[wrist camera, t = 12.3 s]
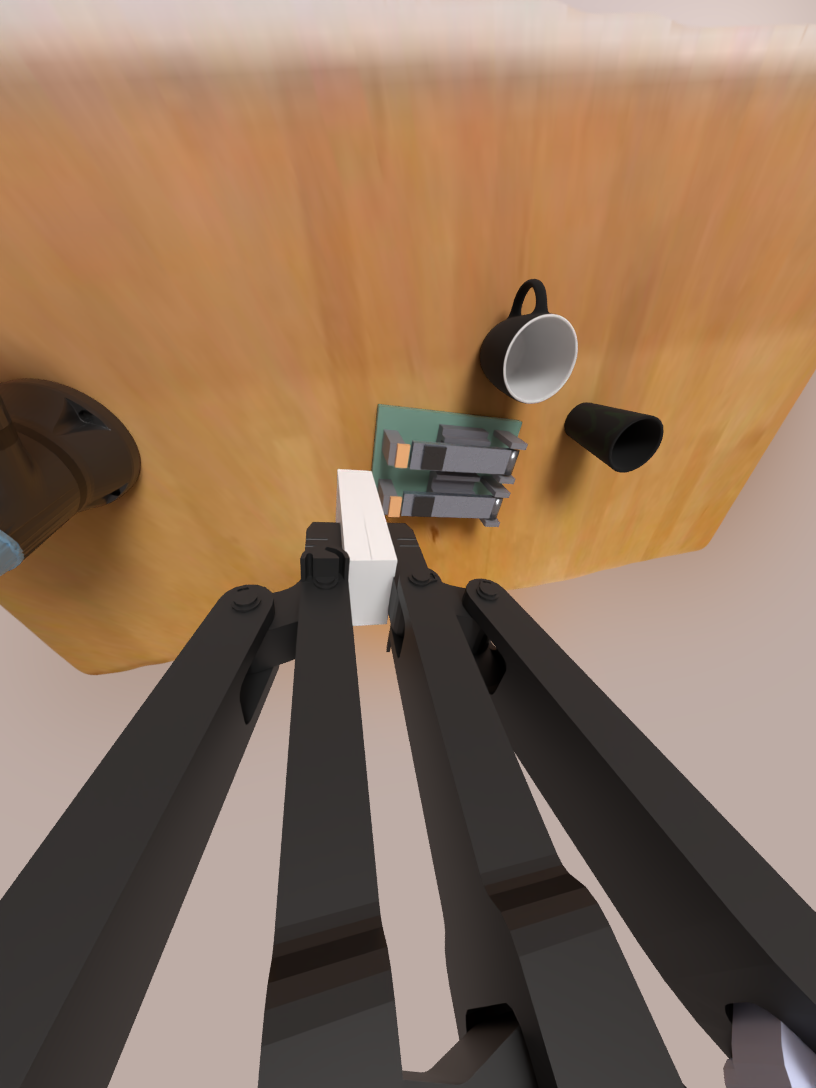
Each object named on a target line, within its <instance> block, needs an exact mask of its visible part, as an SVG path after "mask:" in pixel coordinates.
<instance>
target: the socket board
mask: <svg viewBox="0 0 816 1088" xmlns="http://www.w3.org/2000/svg"><path fill="white" fill-rule="evenodd" d="M521 425H522V422H521V421H519V420H513V419H504V418H496V417H487V416H478V415H469V414H461V413H452V412H443V411H435V410H426V409H417V408H409V407H400V406H391V405H382V404H378V408H377V418H376V429H375V439H374V450H373V460H372V474H373V478H374V481H375V485H376V488H377V492H378V495H379V499H380V502H381V505H382V509H383V512H384V515H388V517H399V516H400V509H401V503H402V496H403V491H419V492H439V493H459V494H478V495H493V496H494V497H500V498H509V496H510V492H509V491H508V490H507V489H506V488H505V487H504V486H503V485H502V483H505V484H514V482H515V478H514V477H513V476H512V475H504V474H487V473H469V472H451V471H433V470H415V469H409V467H408V463H409V457H410V450H411V444H412V440H415V441H428V442H440V443H452V444H465V445H477V446H490V447H502V448H511V449H521V450H526V448H527V445H528V444H527V443H525V442H524V441H522V440H521V439H519V438H518V434H519V431H520V428H521ZM479 519H480V520H481V522H482V523H483V525H484V526H485V527H499V524H500V522H499V521H498V519H497V518H496V519H495V520H493V519H489V518H479Z"/></svg>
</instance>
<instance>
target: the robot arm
mask: <svg viewBox="0 0 816 1088" xmlns="http://www.w3.org/2000/svg"><path fill="white" fill-rule="evenodd" d="M139 472H140V456H139V452H138V449H137V446H136V444H135V442H134V440H133V438H132V436H131V434H130V433H129V431H128V430H127V429H126V427H125V426H124V425H123V424H122V423H121V421H120V420H119V419H118V418H117V417H116V416H115V415H114V414H113V413H111V412H110V411H109V410H108V409H107V408H106V407H104V406H103V405H102V404H100V403H99V402H97V401H96V400H94V399H93V398H91V397H89V396H87V395H86V394H84V393H82V392H80V391H78V390H75V389H73V388H71V387H68V386H65V385H62V384H59V383H56V382H52V381H47V380H40V379H17V380H12V381H7V382H3V383H0V576H2V575H3V574H4V573H6V572H7V571H10V570H12V569H14V568H16V567H17V566H18V565H20V563H21V562H22V561H23V560H24V559H25V558H26V557H27V556H29V555H30V554H31V553H32V552H33V551H34V550H35V549H36V548H38V547H39V546H40V545H41V544H42V543H43V542H44V541H45V540H46V539H48V538H49V537H50V536H51V535H52V534H53V533H54V532H55V531H57V530H58V529H59V528H60V527H61V526H62V525H63V524H64V523H65V522H67V521H68V520H69V519H70V518H71V517H72V516H73V515H75V514H76V513H77V512H81V511H84V510H88V509H92V508H95V507H99V506H102V505H106V504H108V503H111V502H113V501H115V500H117V499H118V498H120V497H121V496H122V495H123V494H125V493H126V492H127V491H128V490H129V489H130V488H131V487H132V486H133V485H134V483H135V482H136V480H137V478H138V475H139ZM300 565H301V580H300V581H299V582H298V583H297V584H296V585H294V586H292V587H291V588H289V589H286V590H283V591H279V592H275V593H272V592H271V591H269V590H268V589H267V588H266V587H262V586H259V585H243V586H239V587H235V588H233V589H231V590H229V591H227V592H226V593H225V594H224V595H223V596H222V597H221V598H220V599H219V600H218V601H217V603H216V604H215V606H214V607H213V608H212V610H211V611H210V612H209V614H208V615H207V617H206V618H205V619H204V621H203V622H202V623H201V625H200V626H199V628H198V629H197V630H196V632H195V633H194V634H193V636H192V637H191V639H190V640H189V641H188V643H187V644H186V645H185V647H184V648H183V650H182V651H181V652H180V654H179V655H178V656H177V658H176V659H175V661H174V662H173V663H172V665H171V666H170V668H169V669H168V670H167V672H166V673H165V674H164V676H163V677H162V679H161V680H160V681H159V683H158V684H157V685H156V687H155V688H154V690H153V691H152V693H151V694H150V695H149V696H148V698H147V699H146V701H145V702H144V703H143V705H142V706H141V707H140V709H139V710H138V712H137V713H136V714H135V716H134V717H133V719H132V720H131V721H130V723H129V724H128V725H127V727H126V728H125V729H124V731H123V732H122V734H121V735H120V736H119V738H118V739H117V741H116V742H115V743H114V745H113V746H112V747H111V749H110V750H109V752H108V753H107V754H106V756H105V757H104V758H103V760H102V761H101V763H100V764H99V765H98V767H97V768H96V769H95V771H94V772H93V774H92V775H91V776H90V778H89V779H88V781H87V782H86V783H85V785H84V786H83V787H82V789H81V790H80V792H79V793H78V794H77V796H76V797H75V798H74V800H73V801H72V803H71V804H70V805H69V807H68V808H67V809H66V811H65V812H64V814H63V815H62V816H61V818H60V819H59V820H58V822H57V823H56V825H55V826H54V827H53V829H52V830H51V831H50V833H49V834H48V836H47V837H46V838H45V840H44V841H43V842H42V844H41V845H40V847H39V848H38V849H37V851H36V852H35V853H34V855H33V856H32V858H31V859H30V860H29V862H28V863H27V864H26V866H25V867H24V869H23V870H22V871H21V873H20V874H19V875H18V877H17V878H16V880H15V881H14V882H13V884H12V885H11V886H10V888H9V889H8V891H7V892H6V893H5V895H4V896H3V898H2V899H1V900H0V1088H107V1087H108V1085H109V1082H110V1080H111V1077H112V1075H113V1072H114V1070H115V1067H116V1065H117V1062H118V1060H119V1058H120V1055H121V1053H122V1050H123V1048H124V1045H125V1043H126V1040H127V1038H128V1036H129V1033H130V1031H131V1028H132V1026H133V1023H134V1021H135V1019H136V1016H137V1014H138V1011H139V1009H140V1006H141V1004H142V1001H143V999H144V997H145V994H146V991H147V989H148V987H149V984H150V982H151V979H152V976H153V974H154V972H155V970H156V967H157V965H158V962H159V960H160V957H161V955H162V952H163V950H164V948H165V945H166V943H167V940H168V938H169V935H170V933H171V930H172V928H173V926H174V923H175V921H176V918H177V916H178V913H179V911H180V908H181V906H182V903H183V901H184V899H185V896H186V894H187V891H188V889H189V886H190V884H191V882H192V879H193V877H194V874H195V872H196V869H197V867H198V864H199V862H200V859H201V857H202V855H203V852H204V850H205V847H206V845H207V842H208V840H209V838H210V835H211V833H212V830H213V827H214V825H215V823H216V820H217V818H218V815H219V813H220V811H221V808H222V806H223V803H224V801H225V798H226V796H227V793H228V791H229V788H230V786H231V784H232V781H233V779H234V776H235V773H236V771H237V769H238V767H239V764H240V762H241V759H242V757H243V754H244V752H245V749H246V747H247V744H248V742H249V740H250V737H251V735H252V732H253V730H254V727H255V725H256V723H257V720H258V717H259V715H260V713H261V710H262V708H263V705H264V703H265V701H266V698H267V695H268V693H269V691H270V688H271V686H272V683H273V681H274V679H275V676H276V673H277V671H278V669H279V665H280V664H283V663H286V662H288V661H291V660H293V659H295V669H294V683H293V696H292V709H291V722H290V736H289V749H288V763H287V775H286V790H285V802H284V816H283V828H282V842H281V856H280V868H279V882H278V895H277V908H276V921H275V934H274V945H273V954H272V961H271V967H270V973H269V979H268V985H267V994H266V1003H265V1011H264V1023H263V1034H262V1043H261V1056H260V1068H259V1080H258V1088H686V1086H685V1085H684V1084H683V1083H682V1081H681V1079H680V1077H679V1074H678V1072H677V1070H676V1068H675V1066H674V1064H673V1061H672V1059H671V1057H670V1055H669V1053H668V1050H667V1048H666V1046H665V1044H664V1042H663V1040H662V1037H661V1035H660V1033H659V1031H658V1029H657V1027H656V1024H655V1022H654V1020H653V1018H652V1016H651V1013H650V1012H649V1009H648V1007H647V1005H646V1003H645V1001H644V998H643V996H642V994H641V992H640V990H639V988H638V986H637V983H636V981H635V979H634V977H633V974H632V972H631V970H630V968H629V966H628V963H627V961H626V959H625V957H624V955H623V953H622V950H621V948H620V946H619V944H618V942H617V940H616V937H615V935H614V933H613V931H612V929H611V927H610V925H609V923H608V921H607V919H606V917H605V915H604V913H603V912H602V910H601V908H600V906H599V904H598V903H597V901H596V900H595V899H594V897H593V896H592V895H591V893H590V892H589V891H588V889H587V888H586V887H585V886H584V885H583V884H582V883H580V882H579V881H578V880H577V879H575V878H574V877H573V876H572V875H570V874H569V873H568V871H567V870H566V869H565V867H564V866H563V865H562V863H561V861H560V859H559V857H558V855H557V853H556V850H555V848H554V846H553V843H552V841H551V838H550V836H549V834H548V831H547V829H546V827H545V824H544V822H543V820H542V817H541V815H540V813H539V810H538V808H537V806H536V803H535V801H534V798H533V796H532V794H531V791H530V789H529V787H528V784H527V782H526V779H525V777H524V775H523V772H522V770H521V768H520V765H519V763H518V761H517V758H516V756H515V754H516V755H517V756H518V758H519V760H520V761H521V763H522V764H523V766H524V768H525V769H526V771H527V772H528V774H529V775H530V777H531V778H532V780H533V781H534V783H535V785H536V786H537V788H538V789H539V791H540V792H541V794H542V795H543V797H544V798H545V800H546V801H547V803H548V804H549V806H550V807H551V809H552V811H553V812H554V814H555V815H556V817H557V818H558V820H559V821H560V823H561V825H562V826H563V827H564V829H565V831H566V832H567V834H568V835H569V837H570V838H571V840H572V841H573V843H574V845H575V846H576V847H577V849H578V851H579V852H580V854H581V855H582V857H583V858H584V860H585V861H586V863H587V865H588V866H589V867H590V869H591V871H592V872H593V873H594V875H595V877H596V878H597V880H598V881H599V883H600V885H601V886H602V888H603V889H604V891H605V892H606V894H607V895H608V897H609V898H610V900H611V902H612V903H613V905H614V906H615V907H616V909H617V911H618V912H619V914H620V915H621V917H622V918H623V920H624V922H625V923H626V925H627V926H628V928H629V929H630V931H631V932H632V934H633V935H634V937H635V938H636V940H637V942H638V943H639V944H640V946H641V947H642V949H643V950H644V952H645V953H646V955H647V956H648V957H649V959H650V960H651V962H652V963H653V965H654V966H655V968H656V969H657V970H658V972H659V973H660V975H661V976H662V978H663V979H664V981H665V982H666V983H667V984H668V986H669V987H670V988H671V990H672V991H673V992H674V993H675V995H676V996H677V997H678V999H679V1000H680V1001H681V1002H682V1003H683V1005H684V1006H685V1008H686V1009H687V1010H688V1011H689V1013H690V1014H691V1015H692V1016H693V1018H694V1019H695V1020H696V1022H697V1023H698V1024H699V1025H700V1026H701V1027H702V1028H703V1029H704V1031H705V1032H706V1033H707V1034H708V1035H709V1036H710V1037H711V1039H712V1040H713V1041H714V1042H715V1043H716V1044H717V1045H718V1046H719V1047H720V1049H721V1050H722V1051H723V1052H724V1053H725V1054H726V1055H727V1057H728V1058H729V1059H727V1061H726V1063H725V1066H724V1068H723V1069H724V1079H725V1085H726V1088H816V912H815V911H814V910H813V909H812V908H811V907H810V906H809V905H808V904H807V903H806V902H805V901H804V900H803V899H802V898H801V897H800V896H799V895H798V894H797V893H796V892H795V891H794V890H793V889H792V887H791V886H789V884H788V883H787V882H786V881H785V880H784V879H783V878H782V877H781V876H780V875H779V874H778V873H777V872H776V871H775V870H774V869H773V868H772V867H771V866H770V865H769V864H768V863H767V862H766V861H765V859H764V858H763V857H762V856H761V855H760V854H759V853H758V852H757V851H756V850H755V849H754V848H753V847H752V846H751V845H750V844H749V843H748V842H747V841H746V840H745V839H744V838H743V837H742V836H741V834H740V833H739V832H738V831H737V830H736V829H735V828H734V827H733V826H732V825H731V824H730V823H729V822H728V821H727V820H726V819H725V818H724V817H723V816H722V815H721V814H720V813H719V812H718V811H717V810H716V809H715V808H714V806H713V805H712V804H711V803H710V802H709V801H708V800H706V798H705V797H704V796H703V795H702V794H701V793H700V792H699V791H698V790H697V789H696V788H695V787H694V786H693V785H692V784H691V783H690V782H689V781H688V779H687V778H686V777H685V776H684V775H683V774H682V773H681V772H680V771H679V770H678V769H677V768H676V767H675V766H674V765H673V764H672V763H671V762H670V761H669V760H668V759H667V758H666V757H665V756H664V755H663V754H662V753H661V751H660V750H659V749H658V748H657V747H656V746H655V745H654V744H653V743H652V742H651V741H650V740H649V739H648V738H647V737H646V736H645V735H644V734H643V733H642V732H641V731H640V730H639V729H638V728H637V727H636V726H635V724H634V723H633V722H632V721H631V720H630V719H629V718H628V717H627V716H626V715H625V714H624V713H623V712H622V711H621V710H620V709H619V708H618V707H617V706H616V705H615V704H614V703H613V702H612V701H611V699H609V697H607V695H606V694H605V693H604V692H603V691H602V690H601V689H600V688H599V687H598V686H597V685H596V684H595V683H594V682H593V681H592V680H591V679H590V678H589V677H588V676H587V675H586V674H585V673H584V671H583V670H582V669H581V668H580V667H579V666H578V665H577V664H576V663H575V662H574V661H573V660H572V659H571V658H570V657H569V656H568V655H567V654H566V653H565V652H564V651H563V650H562V649H561V648H560V646H559V645H558V644H556V643H555V641H554V640H553V639H552V638H551V637H550V636H549V635H548V634H547V633H546V632H545V631H544V630H543V629H542V628H541V627H540V626H539V625H538V624H537V623H536V622H535V621H534V620H533V618H532V617H530V615H529V614H528V613H527V612H526V611H525V610H524V609H523V608H522V607H521V606H520V605H519V604H518V603H517V602H516V601H515V600H514V599H513V598H512V597H511V596H510V595H509V594H508V593H507V591H506V590H505V589H504V588H502V587H501V586H500V585H499V584H497V583H495V582H493V581H491V580H486V579H474V580H472V581H469V583H468V584H467V586H466V588H461V587H456V586H451V585H448V584H445V583H443V582H442V581H441V579H440V577H439V576H438V574H437V573H435V572H434V571H433V570H431V569H429V568H428V567H427V565H426V562H425V560H424V557H423V554H422V552H421V549H420V547H419V544H418V542H417V540H416V537H415V534H414V532H413V530H412V529H411V528H410V527H409V526H408V525H406V524H405V523H386V519H385V516H384V512H383V509H382V505H381V502H380V499H379V495H378V492H377V488H376V485H375V481H374V478H373V474H372V471H361V470H345V469H338V474H337V502H336V523H332V522H313V523H312V524H311V525H310V526H309V527H308V528H307V531H306V544H305V551H304V552H303V553H302V556H301V558H300ZM388 614H389V618H390V623H391V626H390V631H389V637H388V642H387V652H390V648H391V649H392V654H393V659H394V664H395V669H396V674H397V680H398V685H399V690H400V695H401V700H402V705H403V710H404V715H405V720H406V726H407V731H408V736H409V741H410V746H411V752H412V756H413V761H414V767H415V772H416V777H417V782H418V787H419V793H420V798H421V803H422V808H423V813H424V818H425V823H426V829H427V834H428V839H429V844H430V849H431V854H432V859H433V864H434V869H435V875H436V879H437V885H438V890H439V895H440V900H441V905H442V911H443V917H444V924H445V955H446V966H447V973H448V979H449V986H450V990H451V997H452V1002H453V1007H454V1013H455V1018H456V1023H457V1029H458V1035H459V1041H458V1042H457V1043H456V1044H455V1045H454V1047H452V1048H451V1050H449V1051H448V1052H447V1053H446V1054H445V1056H443V1057H442V1058H441V1059H440V1061H438V1062H437V1063H436V1064H435V1065H434V1067H433V1068H431V1069H430V1070H429V1071H427V1072H422V1073H420V1072H410V1071H402V1065H401V1055H400V1046H399V1036H398V1027H397V1017H396V1007H395V998H394V990H393V982H392V973H391V966H390V960H389V954H388V948H387V944H386V939H385V935H384V931H383V927H382V922H381V915H380V906H379V898H378V886H377V876H376V865H375V855H374V844H373V834H372V824H371V815H370V814H371V813H370V802H369V792H368V781H367V771H366V761H365V750H364V740H363V729H362V718H361V708H360V698H359V687H358V676H357V666H356V655H355V645H354V634H353V626H360V625H379V624H387V619H388ZM491 641H492V643H493V644H494V645H495V646H494V645H493V644H492V643H491ZM514 752H515V753H514Z"/></svg>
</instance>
